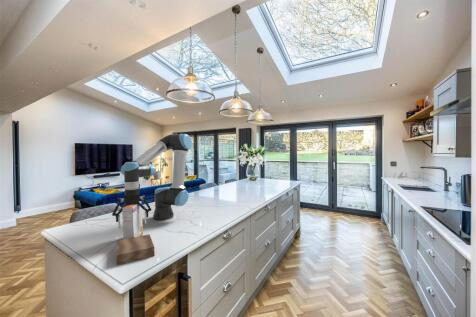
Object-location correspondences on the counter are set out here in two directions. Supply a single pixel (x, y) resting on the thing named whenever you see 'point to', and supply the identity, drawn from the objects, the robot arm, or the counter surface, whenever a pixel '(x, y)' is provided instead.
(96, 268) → the counter surface
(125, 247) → the walnut plinth block
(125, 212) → the cracker box
